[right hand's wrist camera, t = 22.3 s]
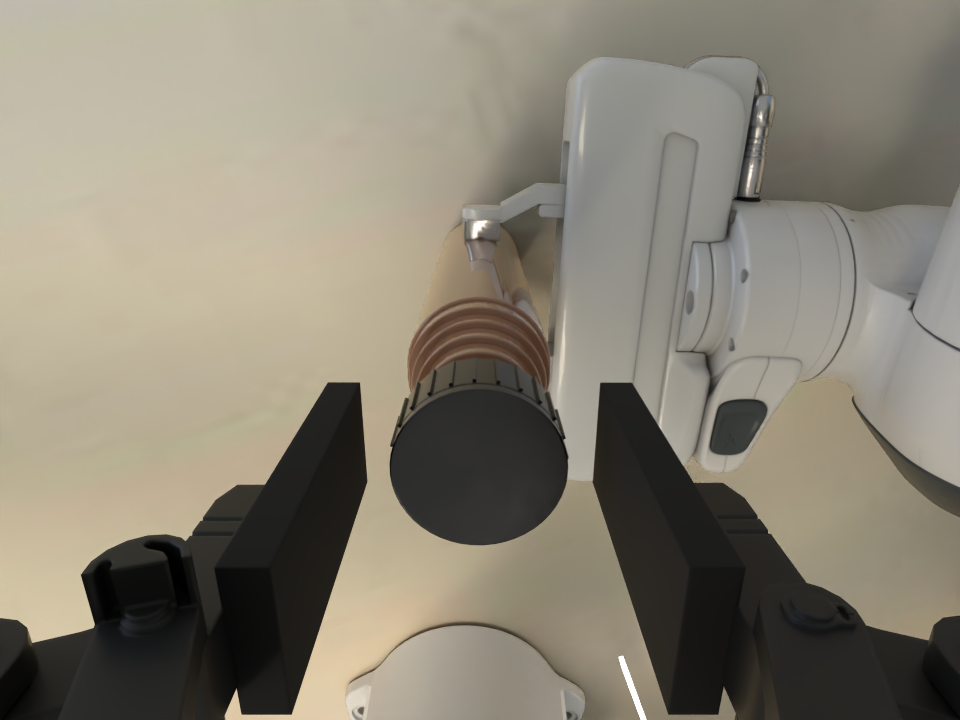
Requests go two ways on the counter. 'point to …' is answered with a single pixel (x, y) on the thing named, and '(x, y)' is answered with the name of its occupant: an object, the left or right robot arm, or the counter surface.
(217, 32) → the counter surface
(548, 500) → the cap
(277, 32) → the counter surface
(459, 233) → the bottle
